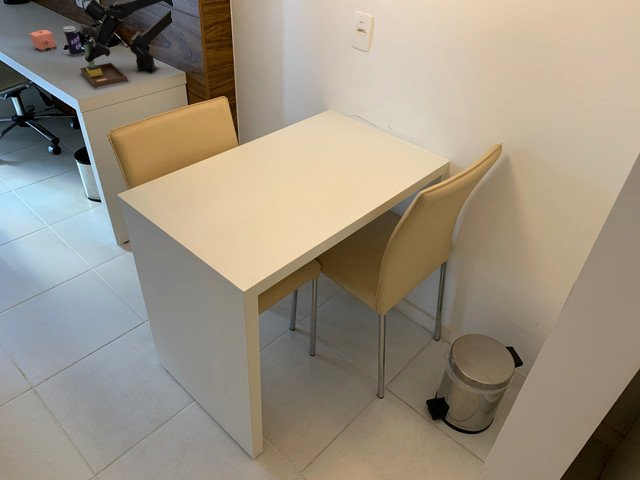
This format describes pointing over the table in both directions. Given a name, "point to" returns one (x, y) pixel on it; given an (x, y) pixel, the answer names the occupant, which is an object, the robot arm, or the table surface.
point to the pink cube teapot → (43, 39)
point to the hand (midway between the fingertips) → (86, 60)
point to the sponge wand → (91, 65)
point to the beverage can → (72, 40)
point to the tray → (106, 75)
